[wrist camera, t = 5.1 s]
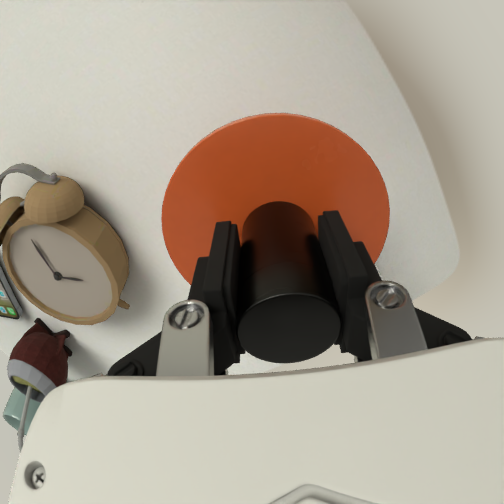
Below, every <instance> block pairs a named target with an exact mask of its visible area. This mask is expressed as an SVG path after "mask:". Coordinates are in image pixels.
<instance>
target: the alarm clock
mask: <svg viewBox="0 0 504 504" xmlns="http://www.w3.org/2000/svg"><path fill="white" fill-rule="evenodd" d="M15 172H19V173H24V174H26V175H29V176H31V177H32V178H34V179H35V180H37V181H38V182H37V183H35V184H34V185H33V186H32V187H31V189H30V190H29V191H28V193H27V195H26V198H25V200H24V199H22V198H20V197H10V198H8V199H6V200H5V201H4V202H2V203H1V204H0V246H1V245H2V249H3V260H4V263H5V266H6V269H7V272H8V274H9V276H10V277H11V279H12V281H13V282H14V284H15V285H16V287H17V289H18V290H19V291H20V292H21V293H22V294H23V295H24V296H25V297H26V298H27V299H28V300H29V301H30V302H31V303H32V304H34V305H35V306H36V307H38V308H39V309H40V310H42V311H43V312H44V313H46V314H48V315H50V316H53V317H55V318H57V319H59V320H61V321H65V322H69V323H72V324H76V325H93V324H96V323H100V322H103V321H105V320H106V319H108V318H109V317H110V316H111V315H112V314H113V313H114V312H115V309H116V307H117V305H118V306H120V307H122V308H125V309H129V307H130V305H129V304H128V303H126V302H125V301H123V300H121V299H119V298H120V294H121V292H122V290H123V288H124V286H125V283H126V280H127V278H128V275H129V264H128V256H127V253H126V251H125V248H124V246H123V243H122V241H121V239H120V238H119V236H118V235H117V234H116V232H115V231H114V230H113V228H112V227H111V226H110V224H109V223H108V222H107V221H106V220H105V219H103V218H102V217H101V216H100V215H99V214H97V213H96V212H95V211H94V210H93V209H91V208H90V207H87V206H85V205H84V195H83V192H82V189H81V188H80V186H79V185H78V184H77V183H76V182H75V181H74V180H72V179H70V178H68V177H64V176H57V175H56V173H52V174H51V175H47V174H45V173H44V172H42V171H41V170H39V169H38V168H36V167H34V166H32V165H29V164H24V163H22V164H16V165H14V166H11V167H9V168H8V169H7V170H6V171H4V172H3V173H2V174H1V175H0V191H1V184H2V181H3V179H4V178H5V176H6V175H7V174H9V173H15ZM0 199H1V194H0ZM23 212H24V213H23Z"/></svg>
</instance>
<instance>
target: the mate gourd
mask: <svg viewBox="0 0 504 504" xmlns="http://www.w3.org/2000/svg"><path fill="white" fill-rule="evenodd" d="M34 322H35V323H36V324H35V325H34V326H33V327H31V328H30V329H29V330H28V331H27V332H26V333H25V334H24V335H23V337H22V338H21V339H20V340H19V342H18V343H17V344H16V345H15V347H14V348H13V350H12V353H11V355H10V359H9V362H8V366H7V370H8V377H9V379H10V382H11V383H12V384H13V386H14V387H15V388H16V389H17V390H19V391H20V392H21V393H22V394H24V395H25V396H26V398H25V403H24V407H23V412H22V417H21V422H20V427H19V428H18V433H17V435H18V444H19V449H20V453H21V450H22V447H23V437H24V431H25V430H24V425H25V420H26V415H27V410H28V406H29V401H30V399H32V400H34V401H36V402H40V403H41V402H42V401H43V399H44V398H45V397H46V396H47V395H48V393H49V392H51V391H52V390H53V389H55V388H57V387H59V386H61V385H63V384H66V381H67V375H68V362H67V360H68V356H69V357H70V356H72V352H71V351H70V350H69V349H68V348H67V347H66V346H65V345H64V342H65V339H66V338H68V337H70V333H69V332H68V331H67V330H63V331H60V332H57V333H53V332H52V331H51V330H50V329H49V328H48V327H47V326H46V325H45V324H44V323H43V322H42V321H41V320H40V319H39V318H37V319H36V320H35V321H34Z"/></svg>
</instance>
